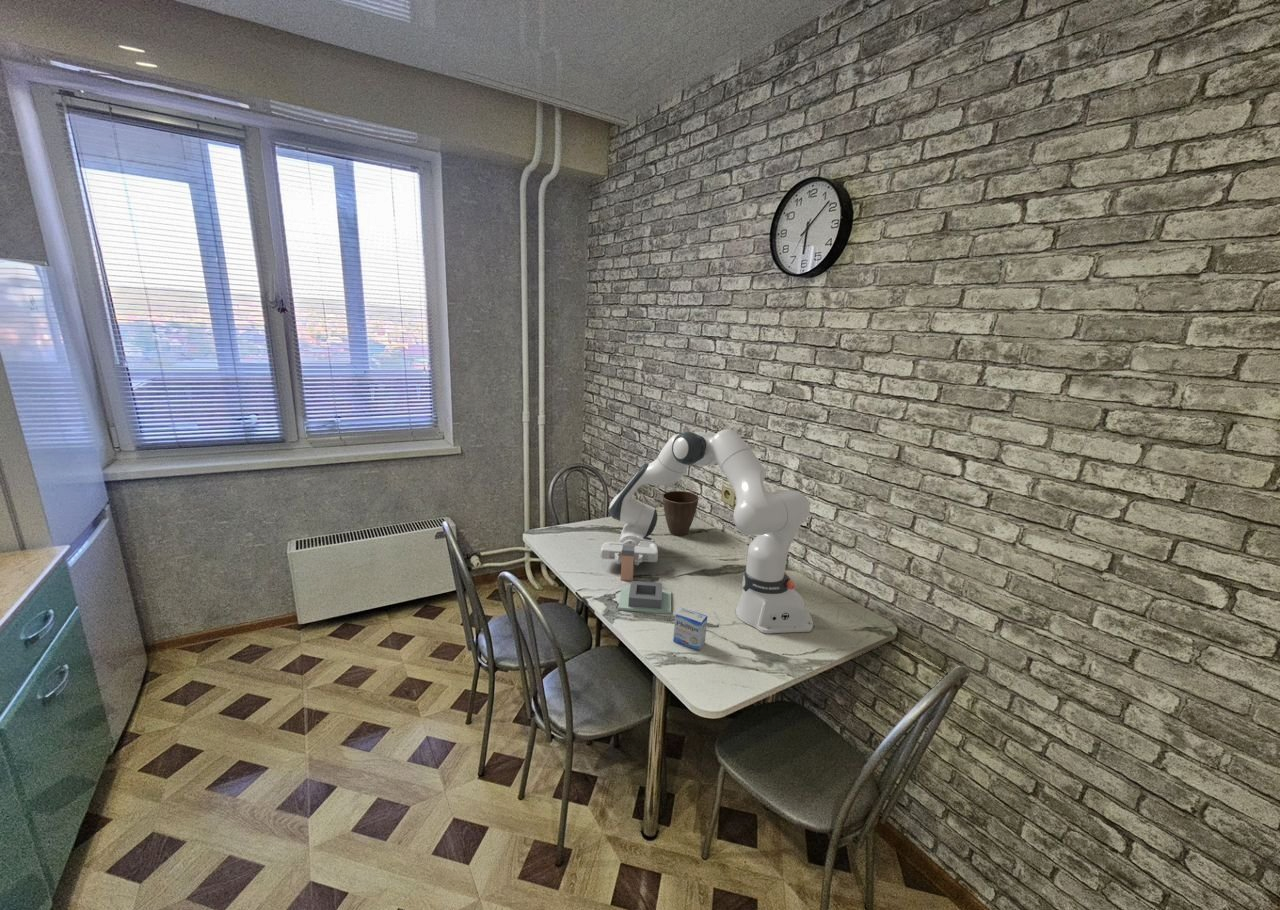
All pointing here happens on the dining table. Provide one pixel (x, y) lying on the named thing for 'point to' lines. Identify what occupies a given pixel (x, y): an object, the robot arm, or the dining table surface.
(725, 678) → the dining table surface
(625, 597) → the board
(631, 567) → the plug
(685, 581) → the dining table surface
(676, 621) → the medicine box
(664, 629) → the dining table surface
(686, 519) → the plant pot
